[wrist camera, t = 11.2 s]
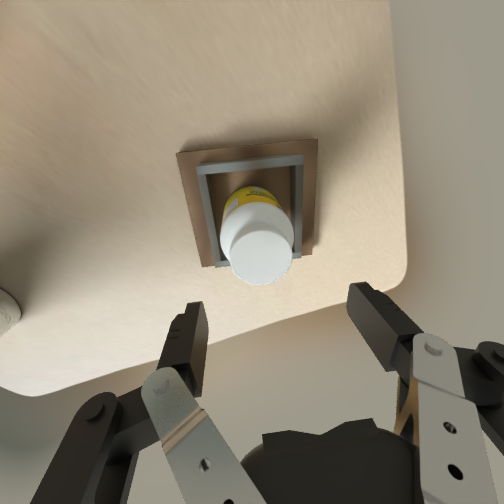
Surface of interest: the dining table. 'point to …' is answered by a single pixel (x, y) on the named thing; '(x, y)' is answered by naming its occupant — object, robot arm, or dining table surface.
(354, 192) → the dining table surface
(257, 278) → the pill bottle
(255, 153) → the collar board
